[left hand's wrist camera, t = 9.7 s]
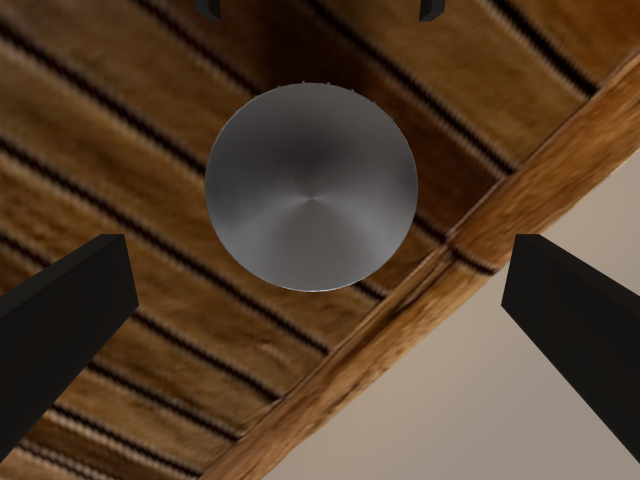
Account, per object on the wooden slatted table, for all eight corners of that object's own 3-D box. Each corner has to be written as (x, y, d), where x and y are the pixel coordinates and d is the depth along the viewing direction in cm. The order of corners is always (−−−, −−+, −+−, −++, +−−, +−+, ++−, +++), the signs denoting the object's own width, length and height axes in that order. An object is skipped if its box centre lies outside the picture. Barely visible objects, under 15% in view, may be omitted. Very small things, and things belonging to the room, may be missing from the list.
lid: (348, 36, 16) (351, 28, 14) (441, 218, 19) (455, 231, 17) (174, 155, 18) (157, 162, 16) (285, 303, 21) (281, 323, 19)
